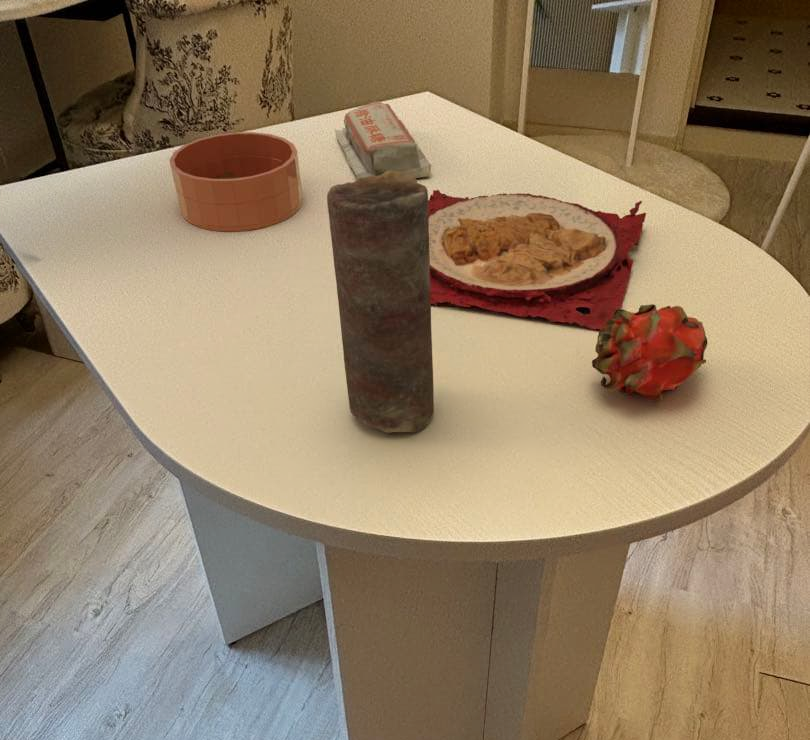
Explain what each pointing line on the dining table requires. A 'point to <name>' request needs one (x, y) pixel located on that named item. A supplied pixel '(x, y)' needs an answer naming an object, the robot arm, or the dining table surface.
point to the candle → (384, 298)
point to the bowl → (237, 181)
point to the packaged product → (380, 143)
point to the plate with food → (530, 256)
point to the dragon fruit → (649, 350)
